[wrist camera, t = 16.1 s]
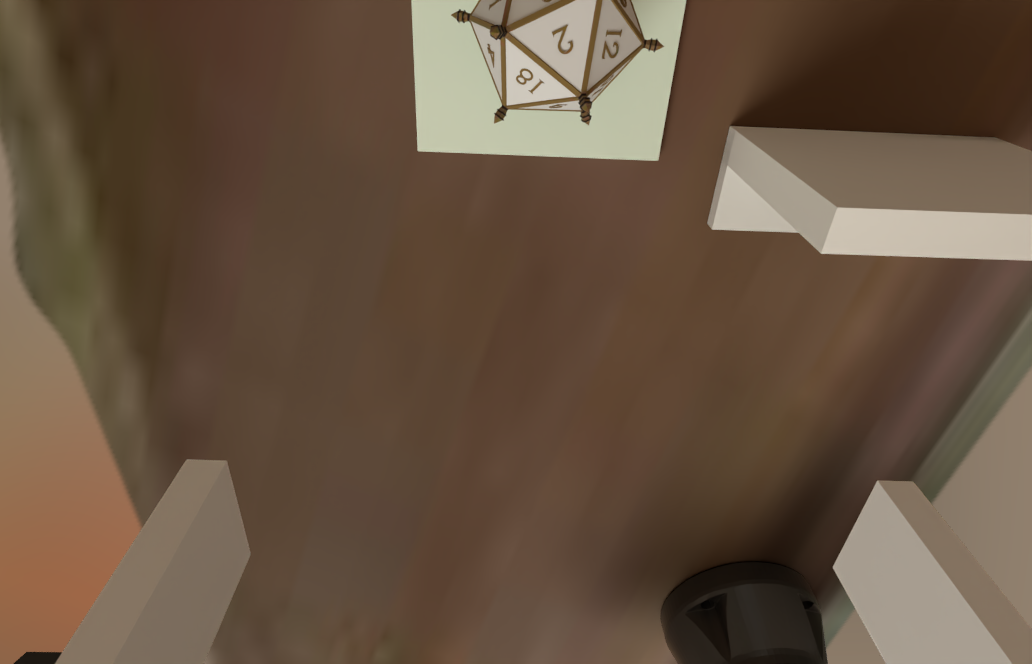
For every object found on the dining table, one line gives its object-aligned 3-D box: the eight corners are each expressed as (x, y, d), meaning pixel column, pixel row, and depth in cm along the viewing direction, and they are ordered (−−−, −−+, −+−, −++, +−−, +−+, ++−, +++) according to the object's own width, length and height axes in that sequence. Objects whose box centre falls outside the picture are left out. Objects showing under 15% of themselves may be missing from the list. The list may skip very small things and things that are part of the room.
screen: (950, 231, 38) (1130, 343, 28) (707, 223, 38) (792, 334, 27) (995, 137, 35) (1218, 221, 24) (730, 125, 35) (837, 207, 24)
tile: (655, 157, 35) (658, 160, 35) (418, 148, 35) (417, 151, 34) (707, -142, 28) (711, -143, 27) (406, -161, 27) (404, -163, 27)
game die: (511, 26, 34) (381, 28, 27) (612, -117, 28) (480, -163, 21) (603, 151, 34) (496, 186, 27) (724, 32, 28) (629, 36, 21)
